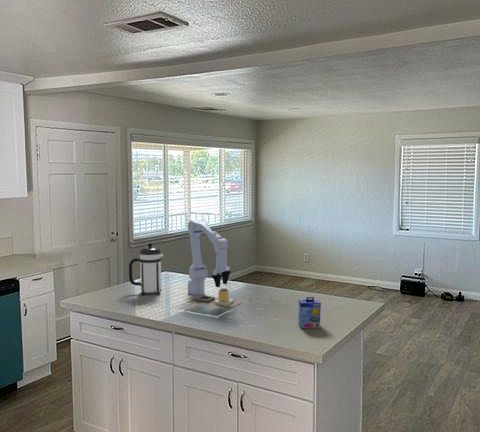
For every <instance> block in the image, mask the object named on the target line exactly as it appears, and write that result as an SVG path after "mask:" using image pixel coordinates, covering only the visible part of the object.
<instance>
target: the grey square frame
mask: <svg viewBox="0 0 480 432" xmlns="http://www.w3.org/2000/svg"><path fill="white" fill-rule="evenodd" d="M200 296H201V297H200ZM200 296H198V297H196V301H198V302H205V303H209V302H211V301H213V300H215V298H216V297H215V296H211V295H204V294H202V295H200ZM206 299H207V300H206Z"/></svg>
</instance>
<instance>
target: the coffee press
mask: <svg viewBox="0 0 480 432" xmlns="http://www.w3.org/2000/svg"><path fill="white" fill-rule="evenodd" d="M138 254H139V258H136V257H135V258H133V259H131V260H130V262H129V264H128V277H129V282H130V284H131V285H134V286H139V287H140V290H141V292H140V296H144V295H145V294H150V293H152V294H153V293H155V294H156V295H157V296H160V295H161V291H162V257H164V256H165V255H164V254H163V253H162V250H161V249H160V248H159V247H156V246H153V244H152V243H151V242H149V243H148V245H147V246H145V247H143V248H141V249H140V251H138ZM135 262H139V264H140V265H139V266H140V267H139V269H140V271H139V273H140V275H139V276H140V277H139V278H140V282H136V281H134V280H133V279H134V278H133V264H134V263H135Z"/></svg>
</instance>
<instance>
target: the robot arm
mask: <svg viewBox="0 0 480 432" xmlns="http://www.w3.org/2000/svg"><path fill="white" fill-rule="evenodd" d="M208 224H209V223H208V221H207V220H206V219H195V220H194V219H193V220H192V219H191V220H189V221H188V224H187V231H188V232H187V233H188V235H189V240H190V241H189V242H190V247H191V258H192V259H191V260H192V264H191V265H190V266H189V267H188V270H189V271H188V278H189V280H188V282H187V294H190V295H194V296H196V295H197V296H203V295H204V294H205V291H206V289H205V286H206V284H205V283H206V282H205V280H206V279H207V277H208V273H209V272H208V270H207V265H206V264H204V263H203V259H202V254H201V252H202V251H201V243H200V235H201V234H203V233H204V234H206V236H207V239H208V240H209V241H210V242H211V243H212V245H213V248H214V251H215V262H216V263H215V269H214V270H212V273H211V277H212V279H213V281H214V286H215V288H220V287H221V281H222V284H223V285H227V284H228V281H229V277H230V275H231V273H232V271H231V269H230V267H231V266H227V263H228V262H227V261H228V255H227V254H228V253H227V252H228V251H227V250H228V249H229V246H230V243H229V242H230V241H229V240H228V238H227V237H226V238H224V237H222V236H221V235H220V234H219V233H218V231H214V230H212V229H211V227H210V226H209V225H208Z"/></svg>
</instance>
